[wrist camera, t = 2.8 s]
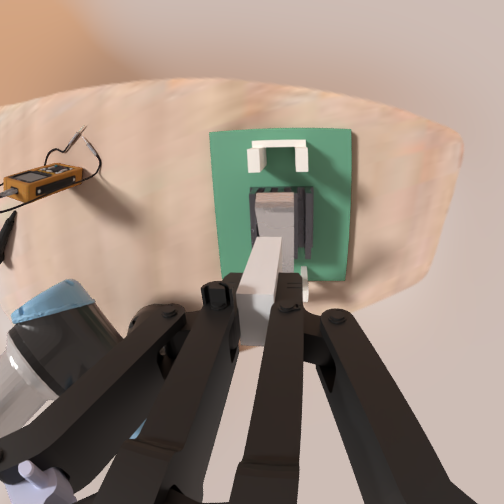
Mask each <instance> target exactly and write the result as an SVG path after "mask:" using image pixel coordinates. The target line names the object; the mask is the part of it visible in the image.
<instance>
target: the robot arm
mask: <svg viewBox="0 0 504 504" xmlns="http://www.w3.org/2000/svg"><path fill="white" fill-rule="evenodd" d="M302 283H303V282H302V276H301V275H300V274H299V273H282V237H257V238H256V241H255V243H254V246H253V249H252V251H251V254H250V257H249V259H248V262H247V265H246V267H245V270H244V273H233V272H230V273H229V274H227V275H226V276H225V277H224V278H223V280H222V281H213V282H209V283H207V284H205V285H203V286H202V287H201V293H202V299H203V307H202V309H201V310H200V311H195V312H188V313H185V309H184V308H183V307H182V306H180V305H178V304H168V305H159V304H155V305H149V306H146V307H143V308H142V309H140V310H139V311H138V312H137V314H136V315H135V316H134V317H133V319H132V320H131V322H130V325H129V329H128V333H127V336H126V337H125V338H124V339H123V338H122V337H121V336H120V334H119V333H118V332H117V331H116V329H115V328H114V327H113V326H112V324H111V323H110V322H109V321H108V319H107V318H106V317H105V315H104V314H103V313H102V311H101V310H100V309H99V307H98V306H97V305H96V303H95V302H96V301H95V300H94V299H92V298H91V297H90V295H89V294H88V293H87V292H86V290H85V289H84V288H83V287H82V285H81V284H80V283H79V282H78V281H76V280H74V279H67V280H64V281H62V282H60V283H58V284H56V285H54V286H52V287H51V288H49V289H47V290H45V291H44V292H42V293H40V294H39V295H37V296H36V297H34V298H33V299H31V300H30V301H28V302H27V303H25V304H24V305H23V306H21V307H20V308H19V309H17V310H15V311H14V312H13V313H12V314H11V318H12V322H13V323H14V324H16V325H15V326H14V327H13V328H12V329H11V330H10V331H9V332H8V333H7V347H6V350H5V351H4V352H3V353H2V354H1V355H0V480H1V481H2V482H3V483H4V484H5V486H6V489H7V492H8V495H9V498H10V501H11V503H12V504H297V494H298V483H299V455H300V439H301V420H302V395H303V361H305V362H308V363H312V364H316V370H317V372H318V375H319V378H320V381H321V383H322V386H323V389H324V391H325V394H326V397H327V399H328V402H329V405H330V407H331V410H332V413H333V415H334V418H335V421H336V424H337V427H338V430H339V432H340V435H341V438H342V441H343V443H344V446H345V449H346V452H347V454H348V457H349V460H350V463H351V466H352V468H353V472H354V474H355V477H356V480H357V483H358V486H359V489H360V492H361V495H362V498H363V500H364V503H365V504H477V503H476V502H475V501H473V500H472V499H471V498H470V497H469V496H467V495H466V494H465V493H464V492H463V491H461V490H460V489H459V488H458V487H457V486H456V485H454V484H453V483H452V482H451V481H450V479H449V477H448V476H447V473H446V471H445V470H444V468H443V466H442V464H441V462H440V460H439V458H438V457H437V454H436V453H435V451H434V449H433V447H432V445H431V443H430V442H429V440H428V438H427V436H426V434H425V432H424V431H423V429H422V427H421V425H420V424H419V422H418V420H417V418H416V417H415V415H414V413H413V412H412V410H411V408H410V407H409V405H408V403H407V401H406V399H405V398H404V396H403V394H402V393H401V391H400V389H399V388H398V386H397V385H396V383H395V381H394V379H393V378H392V376H391V375H390V373H389V371H388V370H387V368H386V366H385V365H384V363H383V362H382V360H381V358H380V357H379V355H378V354H377V352H376V351H375V349H374V347H373V346H372V344H371V343H370V341H369V340H368V338H367V336H366V335H365V333H364V332H363V330H362V329H361V327H360V326H359V324H358V323H357V321H356V319H355V318H354V317H353V315H352V314H351V313H350V312H348V311H346V310H343V309H329V310H326V311H325V312H323V313H322V315H321V316H318V315H314V314H311V313H309V312H308V311H306V310H305V308H304V307H303V284H302ZM239 339H240V341H241V345H247V346H264V352H263V357H262V363H261V368H260V373H259V379H258V384H257V390H256V395H255V400H254V406H253V411H252V416H251V421H250V426H249V431H248V436H247V441H246V446H245V451H244V456H243V459H242V461H241V462H240V463H239V464H238V467H237V470H236V474H235V479H234V483H233V487H232V492H231V496H230V500H229V502H226V503H225V502H224V503H202V500H203V482H204V478H205V474H206V471H207V467H208V463H209V460H210V456H211V453H212V449H213V446H214V442H215V439H216V435H217V431H218V428H219V424H220V421H221V417H222V414H223V410H224V406H225V403H226V399H227V395H228V392H229V387H230V384H231V381H232V377H233V373H234V369H235V366H236V362H237V358H238V354H239V346H238V343H239ZM48 400H55V401H54V402H53V403H52V404H51V405H50V406H49V407H47V409H45V410H44V411H43V412H42V413H41V414H40V415H39V416H38V417H37V418H36V419H35V420H33V421H32V422H31V423H30V424H29V425H27V426H25V427H23V426H24V424H25V423H26V422H27V421H28V420H29V419H30V418H31V417H32V416H33V415H34V414H35V413H36V412H37V411H38V410H39V409H40V408H41V406H43V404H44V403H45V402H46V401H48ZM22 427H23V428H22ZM115 455H116V456H115ZM114 456H115V458H114V460H113V462H112V464H111V466H110V468H109V470H108V472H107V474H106V476H105V478H104V480H103V482H102V485H101V487H100V489H99V491H98V492H97V493H95V494H93V495H90V496H89V497H86V498H84V499H82V500H79V501H77V499H76V497H75V496H74V495H73V494H74V493H76V492H78V491H80V490H81V489H82V488H84V487H85V486H86V485H88V484H89V483H90V482H91V481H92V480H93V479H94V478H95V477H96V476H97V475H98V474H99V473H100V472H101V471H102V470H103V468H104V467H105V466H106V465H107V464H108V463H109V462H110V460H111V459H112V458H113V457H114Z"/></svg>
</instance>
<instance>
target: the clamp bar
mask: <svg viewBox="0 0 504 504" xmlns="http://www.w3.org/2000/svg"><path fill="white" fill-rule="evenodd" d="M255 212H256V218H257V224H258V230H259V236H260V237H282V273H294V192H281V193H256V200H255Z"/></svg>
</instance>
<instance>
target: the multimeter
mask: <svg viewBox="0 0 504 504" xmlns="http://www.w3.org/2000/svg"><path fill="white" fill-rule="evenodd" d="M83 127H84V126H83ZM83 127H82V128H83ZM82 128H81V129H82ZM81 129H80V130H79V132H80V131H81ZM79 132H76V134H75V135H74V137H73V138H72V139H71V141H70V142H69V144H68V146H67V147H66V149H67V148H68V147H69V145H70V144H71V143H72V142H73V141H74V140H75V138H76V137H77V136H78V135H79ZM82 138H83V139H84V137H83V136H82ZM84 141H85V142H86V143H87V141H86V140H85V139H84ZM86 145H87V146H88V147H89V149H90V150H91V151H92V153H93V154H94V155H95V156H96V157H97V158H98V160H99V167H98V169H97V171H96V173H95V174H93V175H92V176H90V177H88V178H85V179H83V180H82V168H80V167H74V166H70V165H65V164H61V163H54V164H50V165H46V166H45V164H46V160H47V157H48V155H49V153H50V152H51V151H53V150H58V151H60V152H62V153H63V152H65V151H66V149H65V150H64V151H61V150H59V149H57V148H55V149H52V150H51V151H49V153H48V154H47V156H46V159H45V163H44V166H42V167H38V168H34V169H31V170H27V171H24V172H20V173H17V174H14V175H10V176H7V177H4V183H2V184H0V186H1V185H3V184H4V192H2V193H0V198H3V197H6V196H7V197H10V198H13V199H16V200H19V201H21V202H24V203H23V204H21V205H18V206H16V207H13V208H10V209H7V210H4V211H0V213H4V212H7V211H10V210H13V209H16V208H18V207H21V206H23V205H26V204H29V203H32V202H34V201H37V200H39V199H42V198H44V197H47V196H49V195H52V194H55V193H57V192H60V191H63V190H65V189H68V188H71V187H74V186H77V185H79V184H81V182H82V181H85V180H87V179H89V178H91V177H93V176H95V175H96V174H97V172H98V171H99V168H100V166H101V160H100V158H99V157H98V155H97V153H96V152H95V150H94V149H93V148H92V146H91V145H90V144H89V143H87V144H86Z"/></svg>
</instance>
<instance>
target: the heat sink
mask: <svg viewBox="0 0 504 504" xmlns="http://www.w3.org/2000/svg"><path fill="white" fill-rule="evenodd" d="M281 192H294V259H298V247H304V251H305V259H311V248H313V212H314V187H313V186H265V187H250V193H249V208H250V226H251V244H252V249H253V246H254V243H255V241H256V238H257V237H260V236H259V230H258V224H257V218H256V212H255V200H256V193H281Z"/></svg>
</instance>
